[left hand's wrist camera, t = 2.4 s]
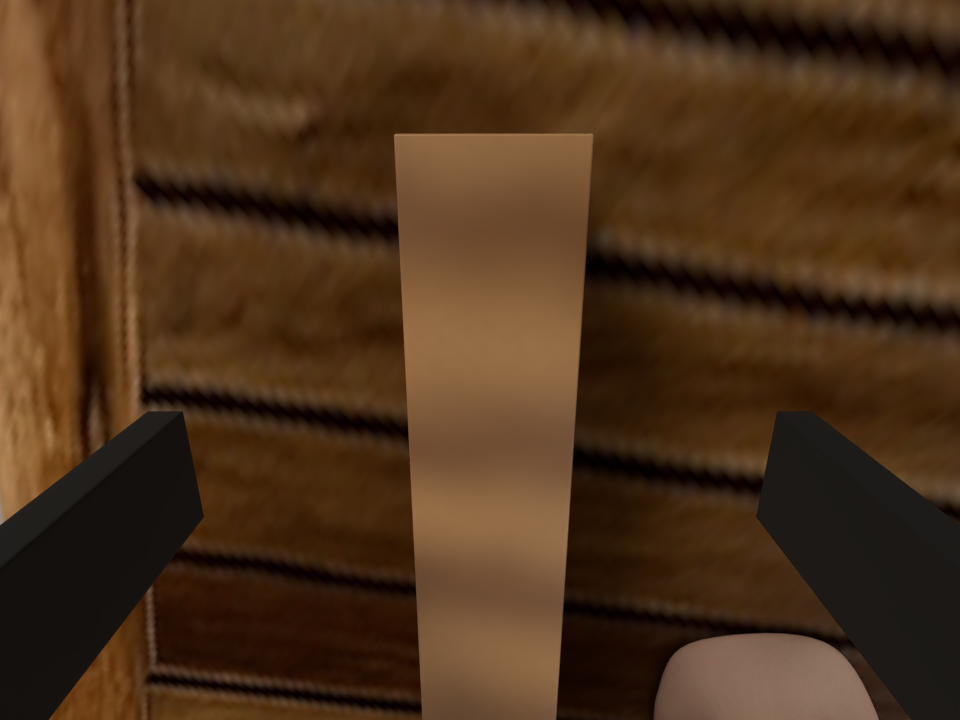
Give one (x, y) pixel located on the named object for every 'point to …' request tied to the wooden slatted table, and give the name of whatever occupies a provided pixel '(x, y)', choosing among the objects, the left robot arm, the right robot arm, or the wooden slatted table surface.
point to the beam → (491, 407)
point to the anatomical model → (761, 681)
